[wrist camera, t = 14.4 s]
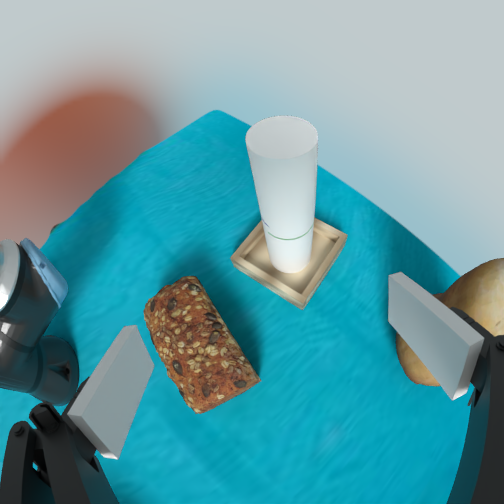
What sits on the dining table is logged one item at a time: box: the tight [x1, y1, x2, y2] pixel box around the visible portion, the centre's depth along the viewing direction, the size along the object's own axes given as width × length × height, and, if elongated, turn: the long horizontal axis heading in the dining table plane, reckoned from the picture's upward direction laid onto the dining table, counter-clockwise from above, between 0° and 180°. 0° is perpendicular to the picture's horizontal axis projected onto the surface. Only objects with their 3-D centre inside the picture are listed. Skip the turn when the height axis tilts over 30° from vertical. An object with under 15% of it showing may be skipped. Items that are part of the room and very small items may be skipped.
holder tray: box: [230, 218, 347, 310], centre depth 47 cm, size 14×14×4 cm
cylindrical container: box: [246, 116, 318, 273], centre depth 36 cm, size 7×7×25 cm
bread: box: [144, 276, 261, 414], centre depth 38 cm, size 19×11×10 cm, turn 31°
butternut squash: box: [396, 258, 504, 386], centre depth 26 cm, size 14×13×25 cm
